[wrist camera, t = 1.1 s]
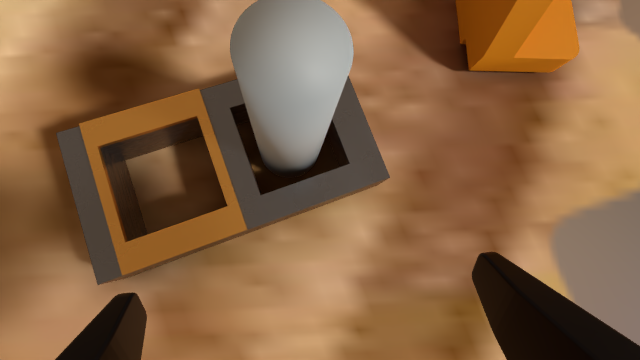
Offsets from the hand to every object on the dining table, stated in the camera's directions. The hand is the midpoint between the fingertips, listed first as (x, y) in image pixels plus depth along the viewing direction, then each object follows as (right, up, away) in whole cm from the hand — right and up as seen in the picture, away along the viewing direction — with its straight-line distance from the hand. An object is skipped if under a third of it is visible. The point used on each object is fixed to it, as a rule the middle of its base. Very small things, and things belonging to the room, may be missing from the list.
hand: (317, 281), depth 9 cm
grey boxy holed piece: (-6, +4, +14) cm, 15 cm away
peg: (-2, +5, +14) cm, 15 cm away
